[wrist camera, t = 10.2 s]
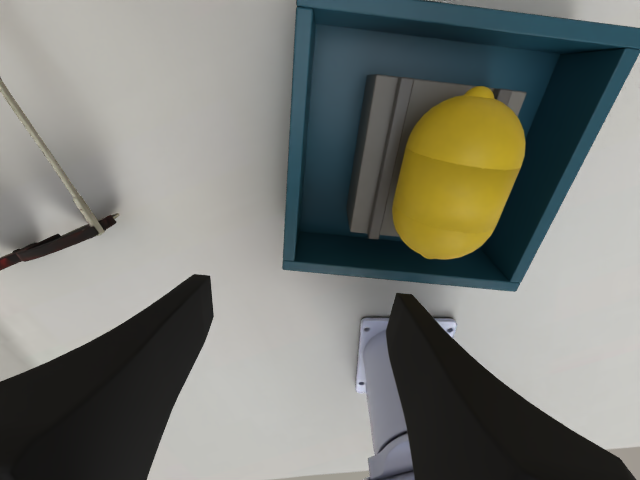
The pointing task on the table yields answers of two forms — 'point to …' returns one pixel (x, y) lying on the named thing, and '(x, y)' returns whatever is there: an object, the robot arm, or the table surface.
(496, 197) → the lemon
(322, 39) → the crate
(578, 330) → the table surface
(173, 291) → the robot arm
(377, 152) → the grey block
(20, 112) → the sunglasses
